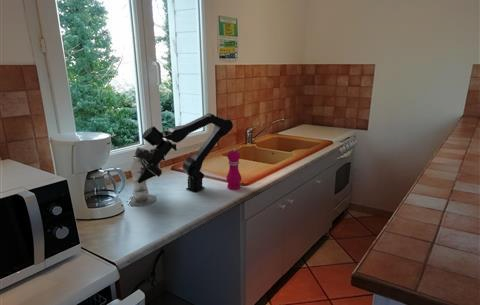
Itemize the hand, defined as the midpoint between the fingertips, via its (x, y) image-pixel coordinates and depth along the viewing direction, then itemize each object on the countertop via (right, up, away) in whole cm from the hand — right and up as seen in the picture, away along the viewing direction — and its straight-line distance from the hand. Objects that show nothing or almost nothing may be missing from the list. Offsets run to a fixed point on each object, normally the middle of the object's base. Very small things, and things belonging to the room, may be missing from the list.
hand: (136, 180), depth 136 cm
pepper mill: (+41, -5, +18) cm, 45 cm away
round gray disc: (+1, -9, +3) cm, 10 cm away
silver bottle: (+1, -9, +3) cm, 10 cm away
